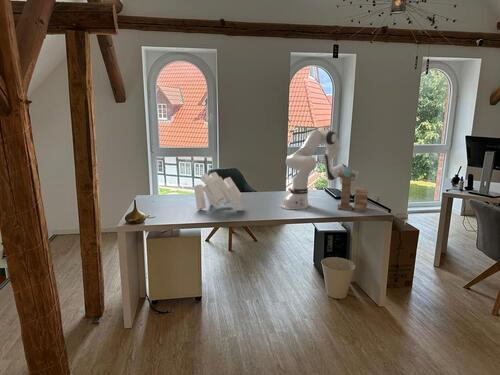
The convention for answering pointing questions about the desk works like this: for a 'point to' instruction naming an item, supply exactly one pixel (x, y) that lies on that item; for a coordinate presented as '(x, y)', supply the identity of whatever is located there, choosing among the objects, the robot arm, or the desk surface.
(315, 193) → the desk surface
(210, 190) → the pile of blocks
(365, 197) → the oak block
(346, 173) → the teal bar
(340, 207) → the walnut shelf post
